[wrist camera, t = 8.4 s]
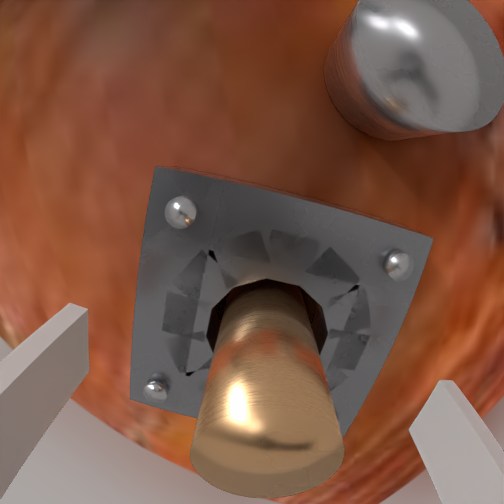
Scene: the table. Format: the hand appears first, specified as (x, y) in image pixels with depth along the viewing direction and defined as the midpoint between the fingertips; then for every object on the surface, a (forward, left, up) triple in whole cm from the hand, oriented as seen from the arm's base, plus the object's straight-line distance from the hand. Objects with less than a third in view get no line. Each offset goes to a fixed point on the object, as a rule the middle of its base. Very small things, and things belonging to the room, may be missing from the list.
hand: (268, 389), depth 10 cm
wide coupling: (+3, +13, -7) cm, 15 cm away
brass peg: (0, 0, -7) cm, 7 cm away
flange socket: (0, 0, -7) cm, 7 cm away
